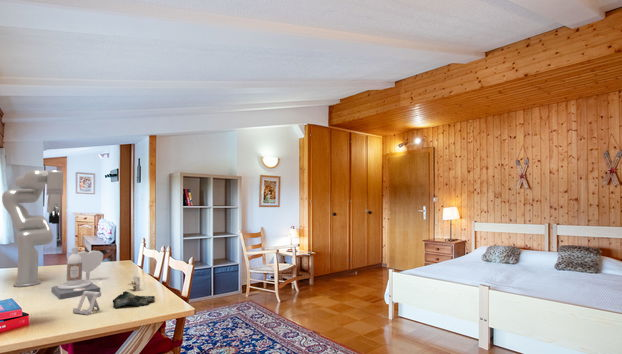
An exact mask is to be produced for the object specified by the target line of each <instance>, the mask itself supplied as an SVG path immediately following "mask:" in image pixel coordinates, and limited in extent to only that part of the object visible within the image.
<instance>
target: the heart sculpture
mask: <svg viewBox="0 0 622 354" xmlns="http://www.w3.org/2000/svg"><path fill="white" fill-rule="evenodd" d="M78 254H79V255H80V256H81V258H82V272H85V279H84V280H83V281H90V282H92V283H93V282H94V283H95V282H100V281H101V279H98V278H96V279H90V278H91V277H90V276H91V275H90V273H91V272H92V271H94V270H95V269H97V268H98V267H99V266H100V265H101V264H102V262H103V261H104V253H103V252H102V251H99V250H90V251H88V252H87V251H78Z"/></svg>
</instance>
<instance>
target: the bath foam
mask: <svg viewBox="0 0 622 354" xmlns="http://www.w3.org/2000/svg"><path fill="white" fill-rule="evenodd" d="M78 252H79V246H72V247H71V254H70V255H69V257H68V259H67V262H66V283H67V285H78V284H81V283H82V281H83V271H82V258H81V256H80V255H79V254H78Z"/></svg>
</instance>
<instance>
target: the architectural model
mask: <svg viewBox="0 0 622 354" xmlns="http://www.w3.org/2000/svg"><path fill="white" fill-rule="evenodd" d="M132 278H133V281H132V280H131V283H130V282H129V283H127V284H126V285H128V286H131V287H132V288H133V290H134V292H139V291H140V285H141V284H140V283H141V281H140V279H141V278H140V277H138V276H133V277H132Z"/></svg>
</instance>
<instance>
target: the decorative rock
mask: <svg viewBox="0 0 622 354" xmlns="http://www.w3.org/2000/svg"><path fill="white" fill-rule="evenodd" d="M155 297H156V296H155V295H138V294H137V295H135V294H134V293H131V292H130V291H127V290H125V291H122V293H120V294H118V295H117V296H116V297H115V298H113V299H112V305H113V309H115V310H116V309H118V308H119V307H124V306H125V305H131V306H136V307H139V308H140V307H143V306H144V305H149V303H151V302H153V301H155Z"/></svg>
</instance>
